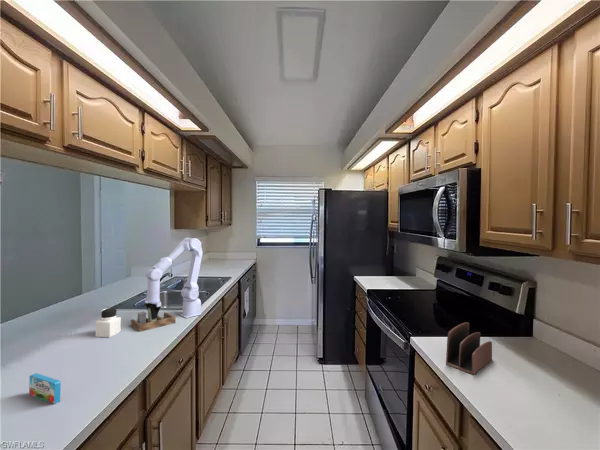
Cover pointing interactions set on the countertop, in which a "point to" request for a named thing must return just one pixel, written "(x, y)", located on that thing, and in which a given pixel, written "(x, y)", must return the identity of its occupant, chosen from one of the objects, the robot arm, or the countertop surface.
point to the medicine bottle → (108, 323)
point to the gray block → (141, 317)
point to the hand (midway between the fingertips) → (153, 317)
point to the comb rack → (153, 322)
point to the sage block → (150, 315)
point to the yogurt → (44, 388)
